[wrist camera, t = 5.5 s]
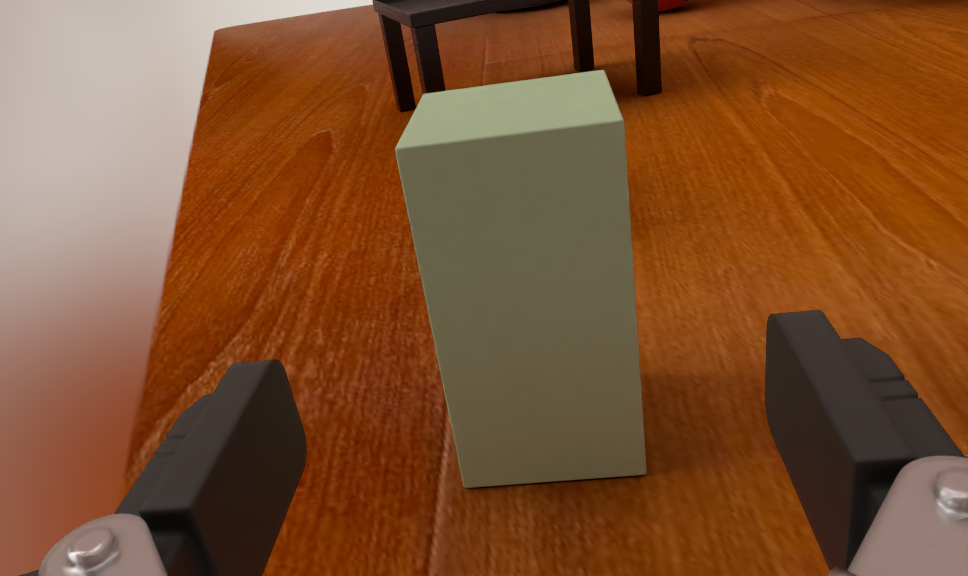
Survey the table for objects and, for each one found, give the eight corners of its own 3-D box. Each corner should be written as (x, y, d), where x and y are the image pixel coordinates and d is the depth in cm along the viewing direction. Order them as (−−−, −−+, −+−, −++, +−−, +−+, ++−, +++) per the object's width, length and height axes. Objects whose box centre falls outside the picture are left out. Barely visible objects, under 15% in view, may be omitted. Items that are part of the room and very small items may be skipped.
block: (463, 489, 20) (394, 148, 16) (475, 385, 24) (422, 93, 20) (647, 475, 19) (624, 118, 15) (626, 371, 23) (604, 68, 19)
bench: (433, 146, 47) (402, -24, 43) (394, 108, 58) (366, -32, 53) (666, 92, 51) (660, -71, 46) (589, 65, 61) (578, -70, 57)
